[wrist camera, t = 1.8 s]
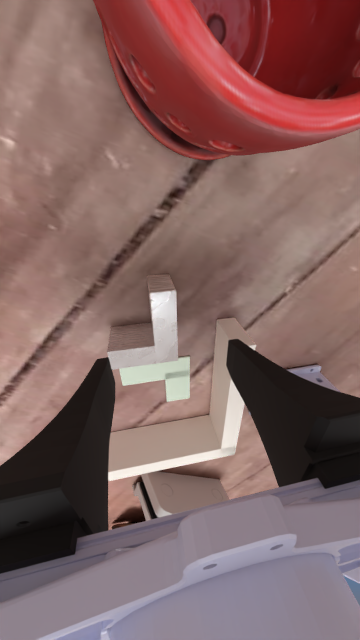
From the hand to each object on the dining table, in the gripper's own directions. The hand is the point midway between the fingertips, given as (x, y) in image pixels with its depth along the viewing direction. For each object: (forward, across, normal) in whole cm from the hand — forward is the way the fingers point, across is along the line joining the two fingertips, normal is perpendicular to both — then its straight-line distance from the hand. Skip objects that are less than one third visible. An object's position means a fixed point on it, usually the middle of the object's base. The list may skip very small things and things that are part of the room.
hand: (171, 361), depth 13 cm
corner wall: (+9, 0, +12) cm, 15 cm away
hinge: (+10, -2, +36) cm, 38 cm away
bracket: (+9, +2, +1) cm, 10 cm away
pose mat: (+9, +1, +11) cm, 15 cm away
